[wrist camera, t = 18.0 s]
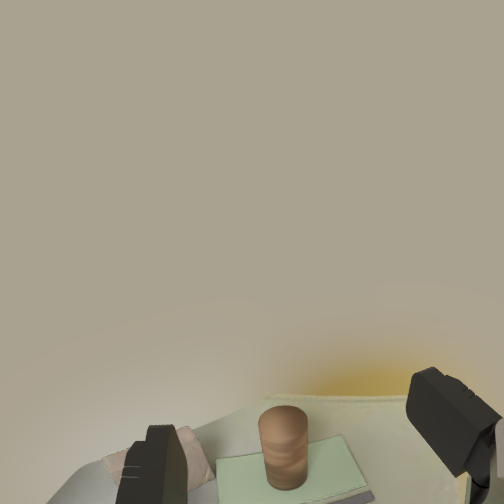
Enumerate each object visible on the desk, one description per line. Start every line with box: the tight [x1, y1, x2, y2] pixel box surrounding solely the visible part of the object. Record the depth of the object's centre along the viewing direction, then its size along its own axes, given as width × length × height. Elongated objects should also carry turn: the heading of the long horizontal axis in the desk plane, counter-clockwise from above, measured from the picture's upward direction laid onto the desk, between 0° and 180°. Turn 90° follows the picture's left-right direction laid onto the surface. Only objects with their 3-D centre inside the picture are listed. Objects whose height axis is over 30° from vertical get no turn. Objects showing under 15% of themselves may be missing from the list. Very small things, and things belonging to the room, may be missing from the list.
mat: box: [216, 435, 367, 504], centre depth 32 cm, size 18×10×1 cm, turn 97°
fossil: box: [102, 426, 215, 492], centre depth 29 cm, size 12×4×10 cm, turn 128°
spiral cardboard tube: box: [258, 406, 308, 491], centre depth 30 cm, size 5×5×11 cm
